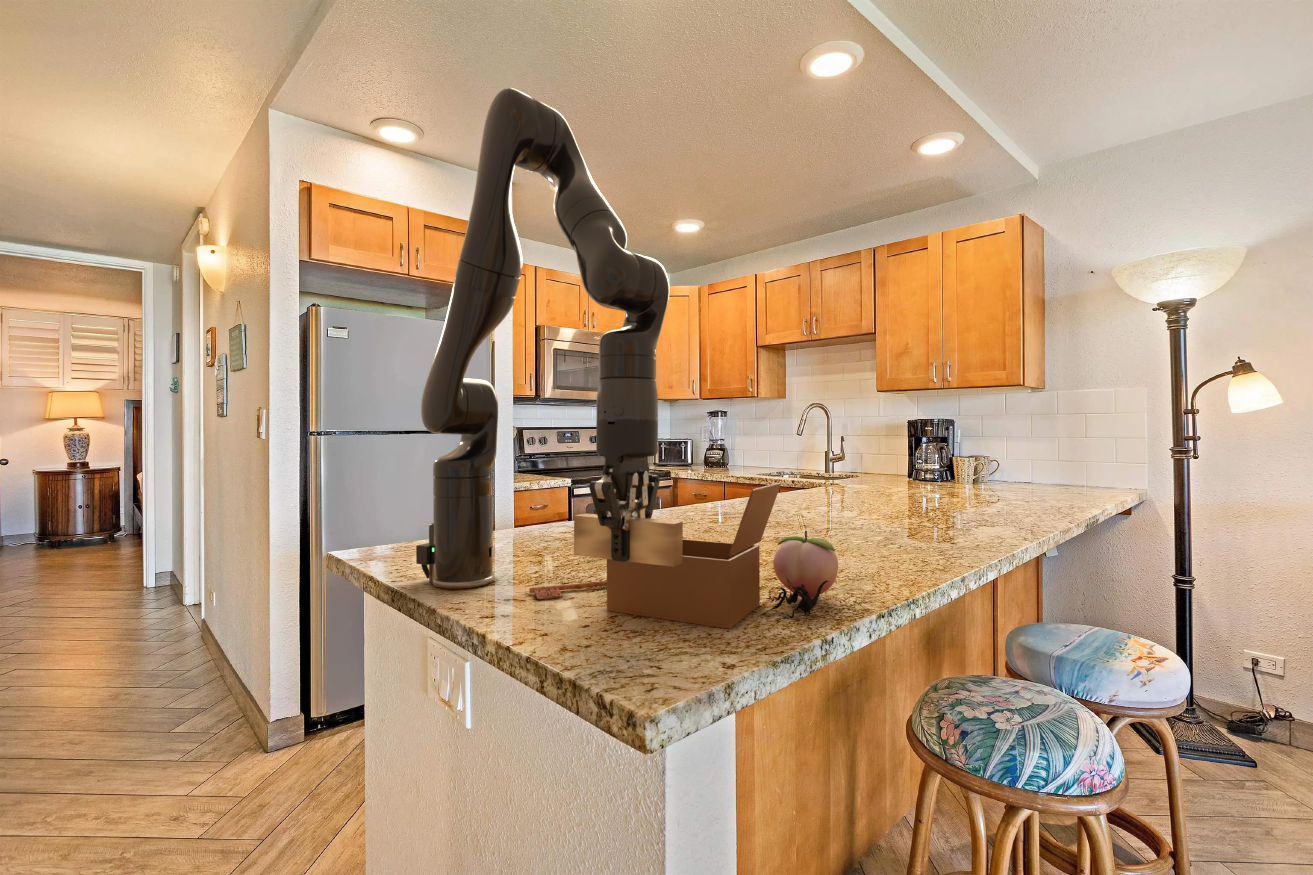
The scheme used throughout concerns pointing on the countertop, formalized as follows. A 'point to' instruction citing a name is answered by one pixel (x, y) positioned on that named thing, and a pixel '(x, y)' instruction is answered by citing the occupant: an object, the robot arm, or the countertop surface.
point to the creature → (805, 602)
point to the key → (555, 591)
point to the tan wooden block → (631, 540)
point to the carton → (689, 585)
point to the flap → (755, 517)
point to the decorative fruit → (806, 563)
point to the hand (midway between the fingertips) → (626, 557)
